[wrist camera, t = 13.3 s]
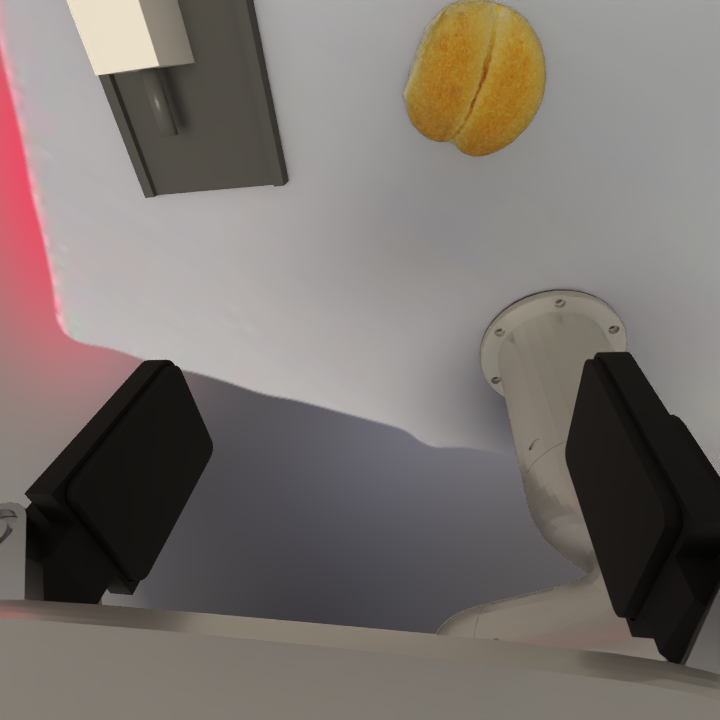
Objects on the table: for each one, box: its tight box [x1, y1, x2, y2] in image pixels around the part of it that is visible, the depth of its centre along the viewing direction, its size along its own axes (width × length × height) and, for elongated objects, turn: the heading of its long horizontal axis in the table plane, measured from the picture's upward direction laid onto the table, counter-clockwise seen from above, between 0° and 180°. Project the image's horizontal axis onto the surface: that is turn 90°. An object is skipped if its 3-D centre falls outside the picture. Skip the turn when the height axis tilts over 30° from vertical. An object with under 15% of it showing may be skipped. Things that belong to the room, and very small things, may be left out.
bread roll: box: [403, 0, 546, 156], centre depth 28 cm, size 8×9×4 cm
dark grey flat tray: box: [98, 0, 288, 198], centre depth 30 cm, size 20×12×1 cm, turn 7°
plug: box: [66, 0, 195, 137], centre depth 28 cm, size 12×4×5 cm, turn 7°
